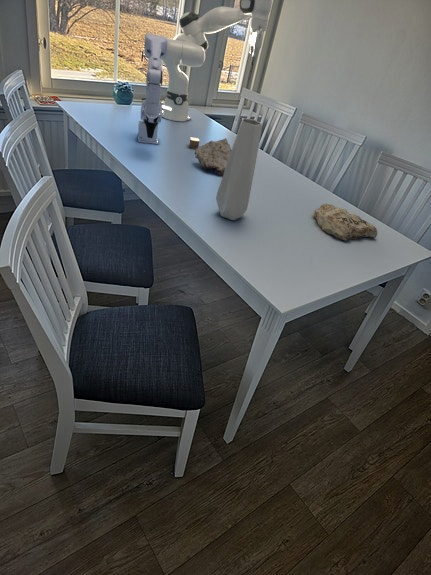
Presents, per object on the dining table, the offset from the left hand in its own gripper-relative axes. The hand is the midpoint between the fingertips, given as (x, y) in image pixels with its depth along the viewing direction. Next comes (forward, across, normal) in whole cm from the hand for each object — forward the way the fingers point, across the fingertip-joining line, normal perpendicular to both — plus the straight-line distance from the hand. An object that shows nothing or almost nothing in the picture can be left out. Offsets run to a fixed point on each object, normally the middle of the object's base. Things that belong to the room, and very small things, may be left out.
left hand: (150, 134), depth 165 cm
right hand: (-30, +71, -50) cm, 92 cm away
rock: (+9, -7, -29) cm, 31 cm away
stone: (+9, -46, -76) cm, 89 cm away
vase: (+9, -49, -33) cm, 60 cm away
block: (+9, +20, -21) cm, 30 cm away
